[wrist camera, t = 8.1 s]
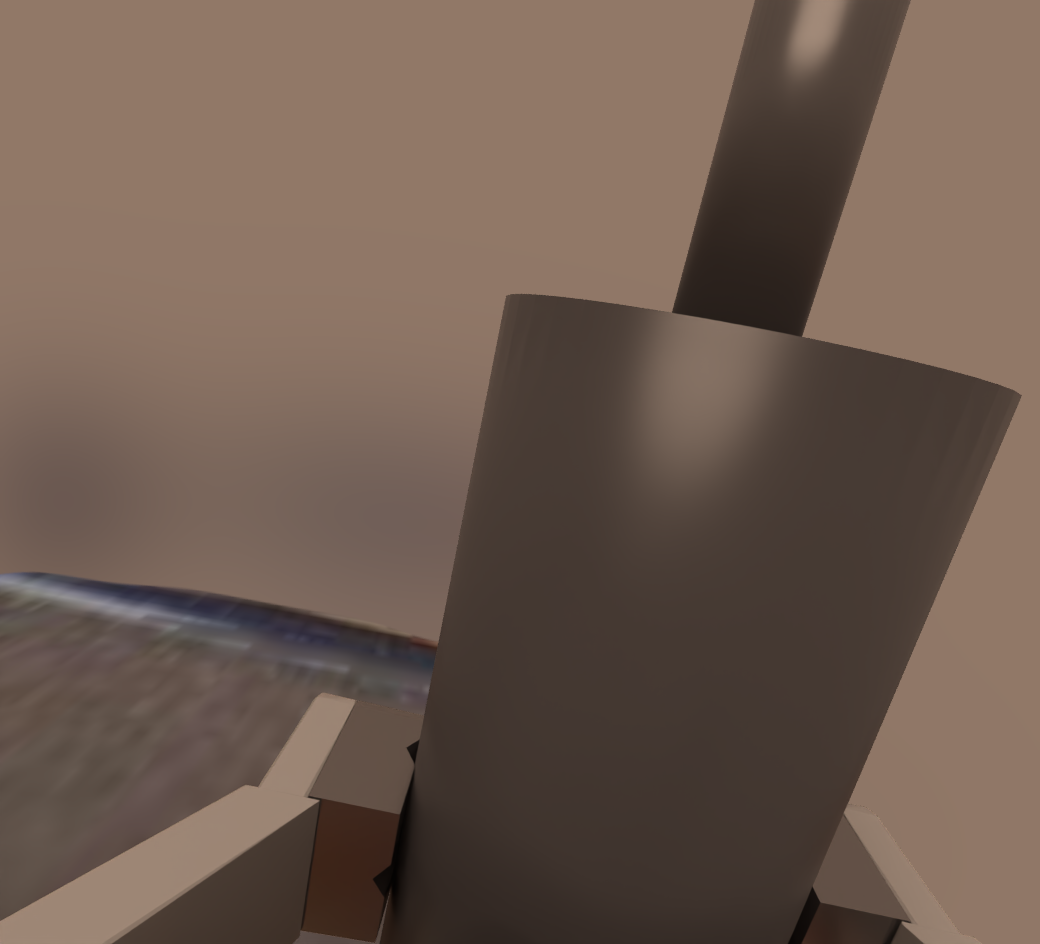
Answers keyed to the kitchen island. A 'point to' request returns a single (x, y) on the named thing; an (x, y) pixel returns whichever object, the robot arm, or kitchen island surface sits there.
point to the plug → (690, 558)
